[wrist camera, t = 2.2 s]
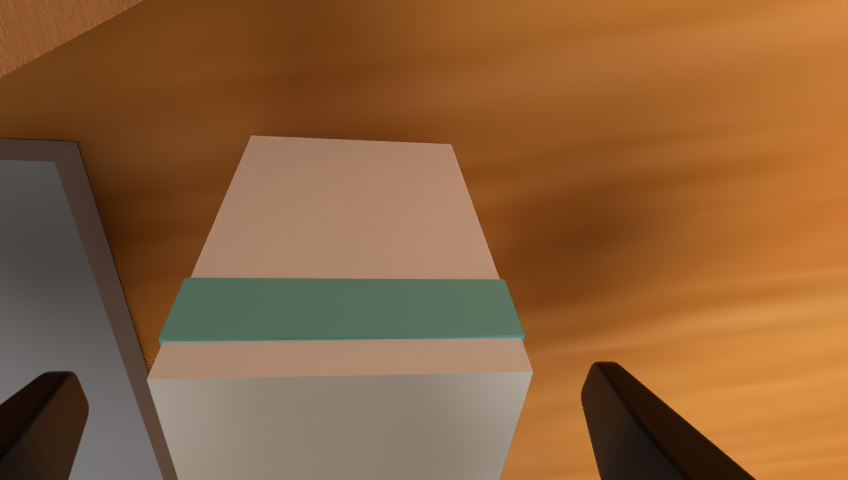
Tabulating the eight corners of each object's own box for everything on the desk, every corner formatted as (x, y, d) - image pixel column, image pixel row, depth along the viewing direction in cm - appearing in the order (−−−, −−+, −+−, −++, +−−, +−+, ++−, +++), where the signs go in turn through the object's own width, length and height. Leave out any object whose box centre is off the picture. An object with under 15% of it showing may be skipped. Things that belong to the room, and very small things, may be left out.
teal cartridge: (433, 293, 15) (480, 549, 9) (265, 292, 14) (202, 569, 8) (453, 142, 12) (537, 369, 6) (248, 133, 12) (140, 376, 6)
